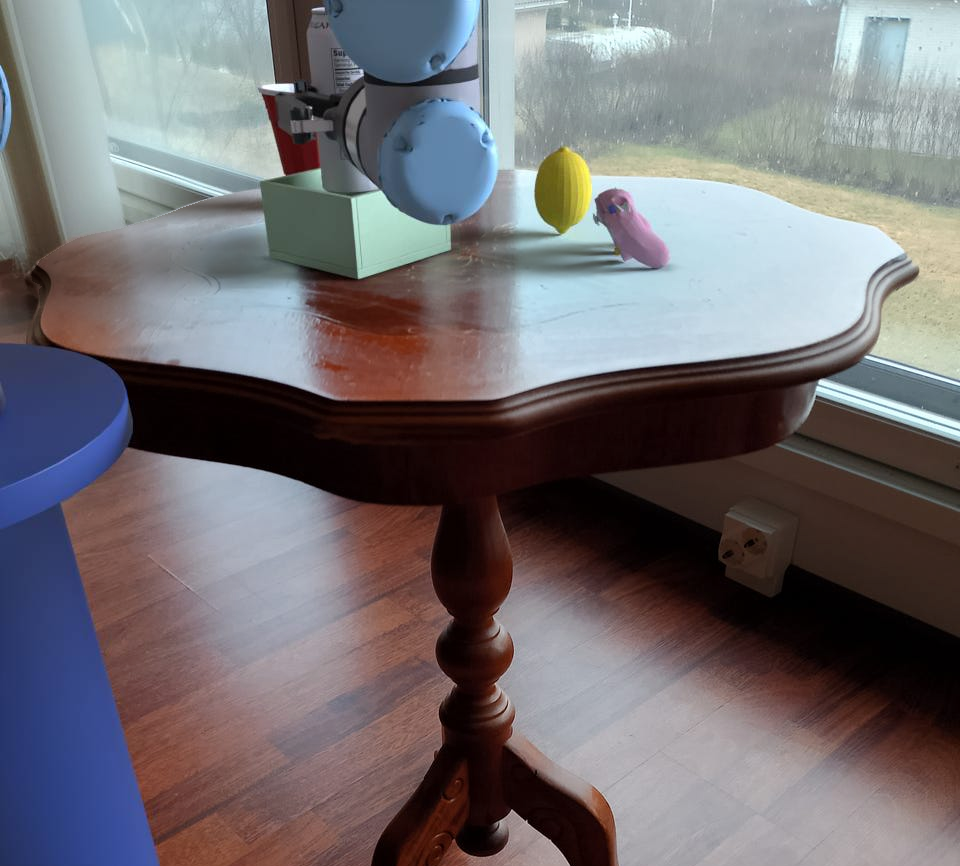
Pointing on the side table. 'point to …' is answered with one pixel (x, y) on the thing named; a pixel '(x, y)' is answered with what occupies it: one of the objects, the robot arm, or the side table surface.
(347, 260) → the bin
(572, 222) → the lemon
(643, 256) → the pink toy bird
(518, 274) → the side table surface
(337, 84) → the energy drink can
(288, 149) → the plastic cup
